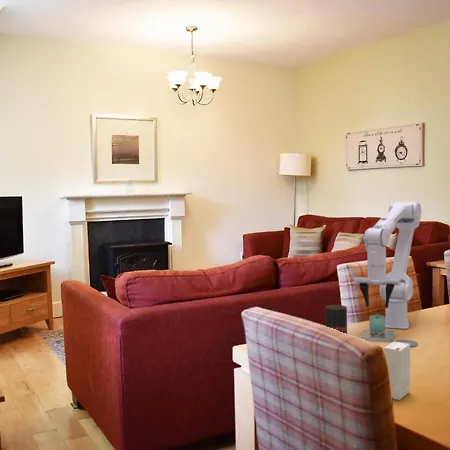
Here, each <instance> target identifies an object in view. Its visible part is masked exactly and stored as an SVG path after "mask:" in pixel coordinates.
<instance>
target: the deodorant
mask: <svg viewBox="0 0 450 450" xmlns="http://www.w3.org/2000/svg"><path fill="white" fill-rule="evenodd" d="M347 307H348V306H346V305H341V304H330V305H326V306H325V327H326V326H327V327H330V328H333V329H336V330H338V331H340V332H343V333H346V334H347V335H348V313H347V312H348V308H347Z"/></svg>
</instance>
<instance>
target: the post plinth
mask: <svg viewBox="0 0 450 450" xmlns="http://www.w3.org/2000/svg"><path fill="white" fill-rule="evenodd" d="M394 336H395V330H391V329H388V330H387V329H385V330H384V331H372V330H370V329H369V328H363V329H362V331H361V332H360V336H359V339H360V338H362V339H365V340H364V341H371V342H386V343H393V342H394V338H395V337H394Z"/></svg>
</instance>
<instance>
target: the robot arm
mask: <svg viewBox="0 0 450 450" xmlns="http://www.w3.org/2000/svg"><path fill="white" fill-rule="evenodd" d="M421 218H422V206H421V204H420V202H419V200H418V201H391V202H390V204H389V206H388V213H387V215H386V216H381V218H380V219H379V220H378V221H377V222H376V223H375V224H374V225H373V227H369V228H368V229H366V230H365V232H364V235H363V236H364V237H363V242H364V245H365V250H366V252H367V255H366V256H367V277H364V276H363V277H361V276H360V277H354V278H353V285H359V289H360V292H361V293H362V296H363V299H364V301H365V307H367V308H369V306H370V298H369V288H370V287H369V286H370V285H372V286H373V285H374V286H376V285H377V286H379V294H380V296H381V298H382V299H383V301H385V303H384V307H385V329H386V328H387V329H403V330H409V325H410V320H408V302H409V301H410V300H411V299H412V297H413V295H414V294H413V292H414V287H413V286H414V285H413V284H414V281H413V279H412V278H411V277H410V276H409V275H408V274H407V271H408V267H409V266H408V265H409V259H410V253H411V249H412V242H413V238H414V232H415V230H416V229H417V228H418V227H419V226H420V223H421ZM396 228H397V229H398V236H397V241H396V245H395V252H394V255H393V256H394V257H393V262H392V267H391V271H390V272H388V273H387V246H388V244H389V242H390V238H391V234H392V233H393V232H394V231H395V230H396Z"/></svg>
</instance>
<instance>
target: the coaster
mask: <svg viewBox="0 0 450 450" xmlns="http://www.w3.org/2000/svg"><path fill="white" fill-rule="evenodd" d="M393 342H401V343H407V344H410V348H416V347H418V344H419V343H418V342H417V341H415V340H411V339H395V340H393Z"/></svg>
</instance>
